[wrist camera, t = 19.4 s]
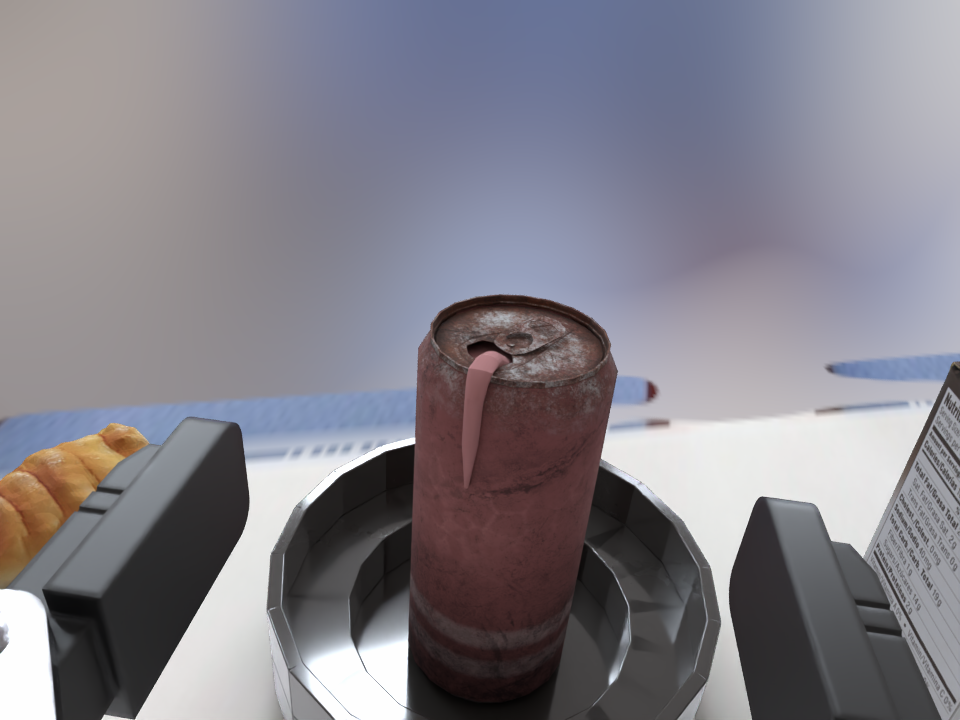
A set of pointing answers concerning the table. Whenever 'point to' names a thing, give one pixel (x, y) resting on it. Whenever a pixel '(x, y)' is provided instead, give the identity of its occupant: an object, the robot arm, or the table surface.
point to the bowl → (386, 593)
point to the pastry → (55, 491)
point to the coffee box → (928, 550)
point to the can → (503, 488)
